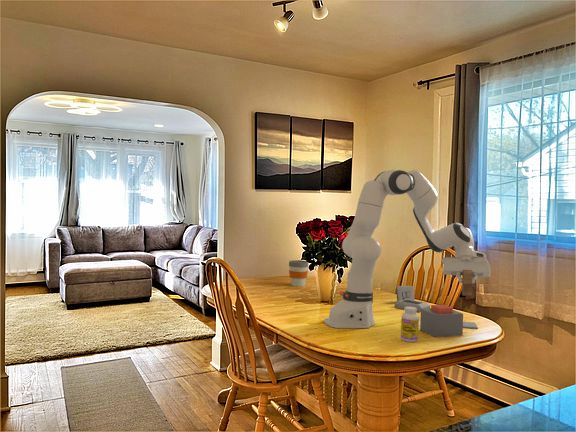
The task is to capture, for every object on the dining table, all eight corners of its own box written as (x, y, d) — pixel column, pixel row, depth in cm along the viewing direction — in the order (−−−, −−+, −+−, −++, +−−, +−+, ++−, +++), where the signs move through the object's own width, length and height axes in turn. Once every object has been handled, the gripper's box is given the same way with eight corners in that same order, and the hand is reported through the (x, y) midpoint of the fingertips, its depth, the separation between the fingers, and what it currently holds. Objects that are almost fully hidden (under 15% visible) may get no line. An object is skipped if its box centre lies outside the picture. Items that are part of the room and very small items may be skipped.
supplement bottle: (399, 341, 183) (400, 308, 183) (401, 336, 189) (402, 305, 189) (417, 343, 181) (418, 310, 181) (418, 338, 187) (420, 306, 187)
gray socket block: (434, 337, 190) (435, 315, 190) (420, 329, 201) (420, 308, 200) (462, 335, 194) (463, 313, 193) (446, 328, 204) (447, 307, 204)
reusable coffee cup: (287, 283, 306) (287, 260, 305) (306, 283, 307) (306, 260, 307) (289, 286, 293) (289, 262, 293) (309, 286, 295) (309, 263, 294)
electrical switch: (399, 304, 251) (398, 286, 252) (394, 302, 256) (394, 285, 257) (414, 303, 254) (414, 286, 254) (410, 302, 259) (410, 285, 259)
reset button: (439, 320, 193) (439, 308, 193) (430, 316, 199) (431, 305, 199) (452, 319, 195) (452, 307, 195) (443, 316, 201) (443, 304, 201)
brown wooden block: (471, 296, 207) (472, 271, 207) (462, 295, 208) (463, 270, 208) (470, 294, 211) (471, 270, 210) (462, 294, 212) (462, 269, 211)
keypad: (421, 305, 233) (394, 300, 243) (421, 313, 233) (394, 308, 243) (430, 303, 240) (403, 298, 250) (430, 310, 240) (403, 305, 250)
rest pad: (477, 328, 204) (477, 327, 204) (455, 327, 207) (455, 325, 207) (474, 323, 213) (474, 322, 213) (453, 322, 215) (453, 320, 215)
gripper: (442, 252, 218) (443, 276, 209) (489, 254, 213) (492, 279, 204) (441, 260, 223) (442, 284, 213) (487, 263, 218) (490, 288, 208)
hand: (467, 282), depth 209 cm, fingers closed on brown wooden block, 4 cm apart
